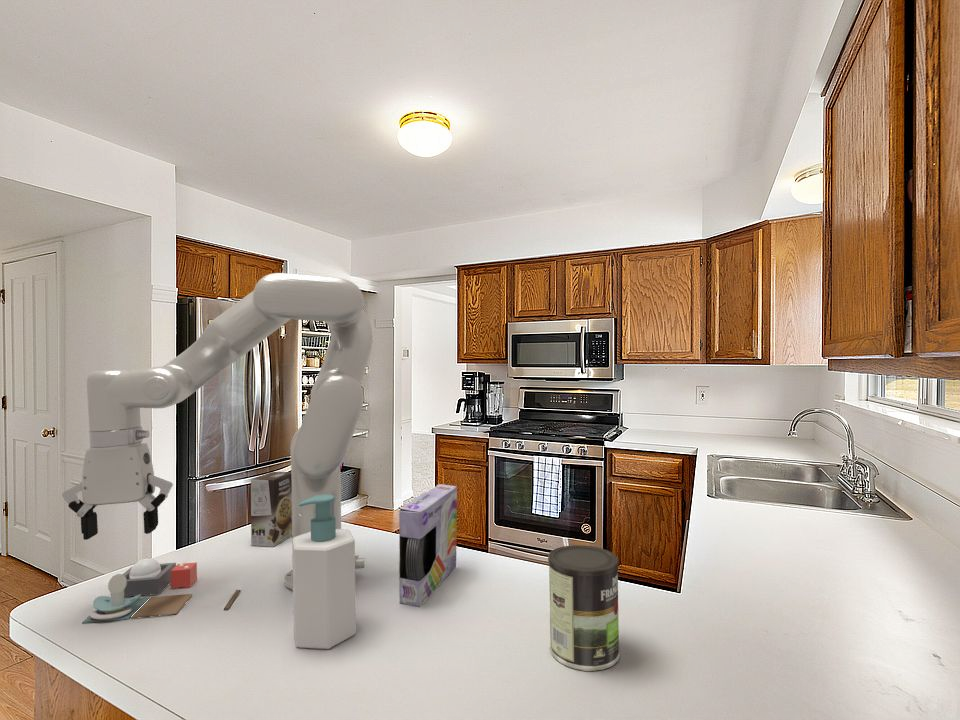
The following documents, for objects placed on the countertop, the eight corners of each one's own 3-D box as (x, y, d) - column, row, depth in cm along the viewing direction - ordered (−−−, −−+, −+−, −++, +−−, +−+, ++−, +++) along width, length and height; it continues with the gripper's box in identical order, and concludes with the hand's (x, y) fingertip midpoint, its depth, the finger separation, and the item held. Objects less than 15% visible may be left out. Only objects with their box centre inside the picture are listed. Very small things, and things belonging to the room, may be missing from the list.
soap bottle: (292, 624, 85) (291, 492, 85) (348, 613, 89) (346, 486, 89) (296, 657, 76) (294, 508, 76) (359, 642, 79) (357, 501, 79)
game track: (240, 591, 98) (240, 589, 98) (228, 609, 91) (228, 608, 91) (106, 602, 94) (106, 601, 94) (82, 623, 86) (82, 621, 86)
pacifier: (125, 621, 87) (145, 603, 93) (124, 585, 87) (144, 569, 93) (80, 623, 86) (103, 605, 92) (78, 587, 86) (102, 571, 92)
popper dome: (165, 579, 103) (165, 553, 103) (154, 590, 98) (153, 563, 98) (137, 581, 102) (137, 555, 102) (124, 593, 97) (123, 565, 97)
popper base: (201, 575, 106) (200, 556, 106) (185, 592, 98) (185, 572, 98) (133, 580, 104) (133, 561, 104) (112, 598, 96) (111, 578, 96)
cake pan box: (420, 611, 89) (418, 510, 89) (394, 607, 91) (393, 507, 91) (459, 568, 107) (458, 484, 107) (437, 565, 109) (436, 483, 109)
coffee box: (274, 547, 121) (273, 479, 121) (250, 546, 122) (249, 478, 122) (295, 534, 130) (294, 471, 130) (272, 533, 131) (272, 470, 131)
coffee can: (628, 644, 78) (627, 551, 78) (607, 680, 69) (605, 576, 69) (565, 626, 83) (564, 540, 83) (538, 657, 75) (536, 561, 75)
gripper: (177, 432, 96) (181, 522, 96) (74, 439, 93) (79, 532, 93) (159, 438, 89) (164, 536, 89) (47, 446, 86) (52, 547, 86)
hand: (121, 534), depth 91 cm, fingers open, 9 cm apart
